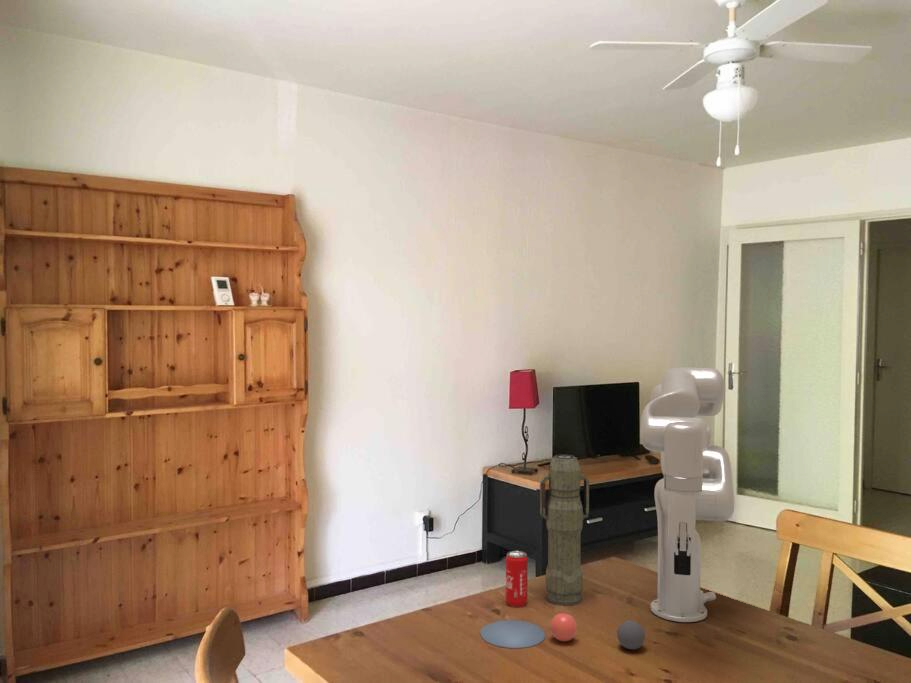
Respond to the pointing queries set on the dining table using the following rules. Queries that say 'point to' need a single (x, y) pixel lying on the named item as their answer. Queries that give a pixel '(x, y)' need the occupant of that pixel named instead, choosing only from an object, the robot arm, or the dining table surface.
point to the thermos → (564, 529)
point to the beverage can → (516, 578)
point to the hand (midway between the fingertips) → (682, 573)
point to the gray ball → (631, 635)
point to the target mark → (512, 634)
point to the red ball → (563, 627)
